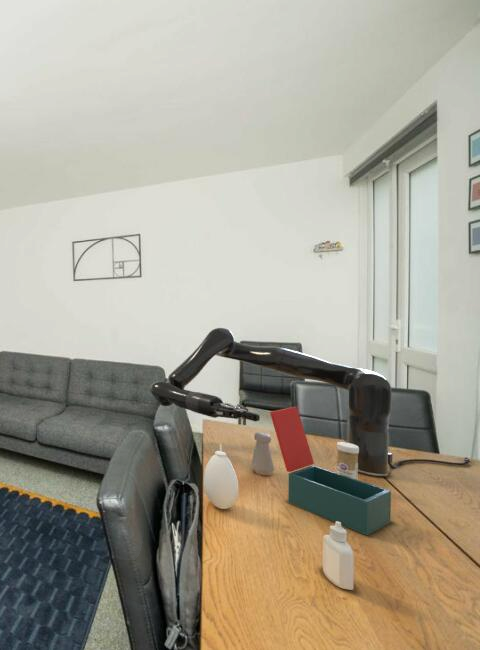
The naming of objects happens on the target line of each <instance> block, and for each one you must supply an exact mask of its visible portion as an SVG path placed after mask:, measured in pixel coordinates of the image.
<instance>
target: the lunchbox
mask: <svg viewBox="0 0 480 650" xmlns="http://www.w3.org/2000/svg"><path fill="white" fill-rule="evenodd" d="M287 492H288V495H287V497H288V502H287V503H289V504H291V505H294V506H296V507H298V508H301V509H303V510H305V511H308V512H310V513H312V514H315V515H317V516H319V517H322V518H324V519H326V520H329V521H331V522H334V523H336V521H338V522H340V523H341V526H343V527H345V528H348V529H350V530H352V531H354V532H357V533H360V534H362V535H364V536H369V535H370V534H372V533H374V532H376V531H377V530H380V529H382V528H383V527H385V526H387V525H389V524H391V512H392V511H391V507H392V500H391V499H392V498H391V497H392V490H390V489H387V488H383V487H381V486H377V485H374V484H371V483H368V482H365V481H362V480H359V479H358V480H356V479H353V478H350V477H347V476H344V475H341V474H338V473H337V472H336V471H335V472H334V471H332V470H329V469H326V468H323V467H320V466H317V465H314V464H312V465H309V466H306V467H303V468H300V469H298V470H295V471H292V472H288V491H287Z"/></svg>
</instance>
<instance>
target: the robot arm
mask: <svg viewBox="0 0 480 650" xmlns="http://www.w3.org/2000/svg"><path fill="white" fill-rule="evenodd" d="M215 356H217V357H221V358H226V359H231V360H235V361H238V362H239V361H240V362H243V363H247V364H250V365H254V366H255V367H260V368H263V369H267V370H270V371H272V372H277V373H279V374H283V375H286V376H290V377H294V378H299V379H304V380H310V381H317V382H321V383H326V384H329V385H333V386H335V387H338V388H340V389H344V390H346V391H348V405H347V409H346V443H351V444H354V445H357V446H358V447H359V453H358V474H359V473H360V474H363V475H367V476H372V477H379V478H383V477H384V478H385V477H388V476H389V467H390V468H392V469H396V468H399V467H400V466H401V465H402V464H403V463H410V462H411V463H413V462H427V463H437V464H443V465H451V466H466V465H468V464H469V461H470V459H469V458H468V457H464V461H463V462H451V461H443V460H437V459H425V458H411V459H403V460H399V461H398V462H397V463H396V464H395V465H393V464H392V463H393V453H392V452H389V424H390V423H389V422H390V416H391V412H392V411H391V410H392V385H391V383H390V382H389V381H388V379H386V378H385V376H383V375H381V374H380V373H379V372H375V371H373V370H368V369H363V368H358V367H353V366H347V365H342V364H338V363H334V362H329V361H327V360H324V359H321V358H319V357H315V356H312V355H309V354H306V353H303V352H299V351H296V350H292V349H288V348H284V347H279V346H270V345H269V346H268V345H266V346H263V345H262V346H258V345H249V344H245V343H241V342H238V341H235V335H234V333H233V332H232V331H231V330H229V329H227V328H224V327H216V328H214V329H212V330H210V331H209V332H208V333H207V334H206V336H205V338H204V339H203V340H202V342H201V343H200V344H199V345H198V346H197V348H195V349H194V351H193V352H192V353H191V354H190V355H189V356H187V358H186V359H185V360H183V362H182V363H180V364H179V365H178V366H177V367H176V368H175V369H174V370H173V371H172V372H171V373H169V375H168V378H167V379H168V381H163V380H157V381H154V382H153V383H152V384H151V385H150V388H149V390H150V393H151V395H152V396H153V397H154V399H155V400H156V401H157V403H158V404H159V405H161V406H163V407H170V406H172V405H175V406H176V407H178V408H181V409H185V410H187V411H191V412H193V413H196V414H199V415H202V416H207V417H209V418H213V419H216V418H227V419H234V420H238V419H241V420H243V419H245V420H248V421H253V422H259V421H260V414H259V413H256V412H251V411H249V409H248V408H247V407H245V406H243V405H242V404H239V403H238V404H236V405H234V404H232V403H229V402H223V400H222V398H221V397H219V396H217V395H213V394H208V393H204V392H200V391H191V390H188V389H185V388H186V387H187V386H188V385H189V384H190V383H191V382H192V381H194V380H195V378H196V377H197V376H198V375H199V374H200V373H201V372H202V370H203V369H204V368H205V366H206V365H207V364H208V363H209V362H210V361H211V359H213V358H214V357H215ZM465 459H468V460H469V461H468V460H465Z"/></svg>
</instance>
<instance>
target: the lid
mask: <svg viewBox="0 0 480 650" xmlns="http://www.w3.org/2000/svg"><path fill="white" fill-rule="evenodd" d="M269 414H270V417H271V421H272V424H273V428H274V432H275V436H276V439H277V441H278V446H279V449H280V453H281V456H282V459H283V463H284V466H285V469H286V472H288V473H292V472H295V471H298V470H300V469H303V468H306V467H309V466H312V465H314V464H315V462H314V457H313V455H312V452H311V448H310V444H309V441H308V438H307V435H306V432H305V428H304V425H303V422H302V419H301V416H300V412H299V409H298V406H290V407H287V408H281V409H277V410H272V411H270V412H269Z"/></svg>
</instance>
